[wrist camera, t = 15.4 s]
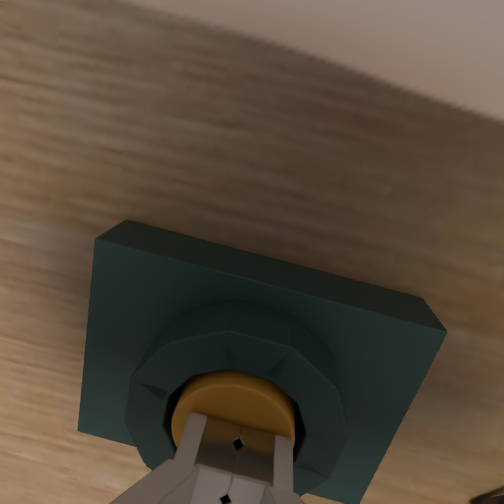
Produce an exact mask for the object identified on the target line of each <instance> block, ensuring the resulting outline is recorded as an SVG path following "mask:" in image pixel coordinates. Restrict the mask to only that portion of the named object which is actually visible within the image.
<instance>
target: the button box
mask: <svg viewBox="0 0 504 504" xmlns="http://www.w3.org/2000/svg"><path fill="white" fill-rule="evenodd" d="M446 334H447V330H446V329H445V328H444V326H443V325H442V324H441V322H440V321H439V319H438V318H437V317H436V315H435V314H434V313H433V311H432V310H431V309H430V307H429V306H428V305H427V303H426V302H425V301H424V299H422V298H419V297H415V296H411V295H407V294H404V293H400V292H396V291H392V290H388V289H385V288H381V287H377V286H373V285H370V284H366V283H362V282H358V281H354V280H351V279H347V278H343V277H339V276H336V275H332V274H328V273H324V272H320V271H317V270H313V269H309V268H305V267H302V266H298V265H294V264H290V263H286V262H283V261H279V260H275V259H271V258H268V257H264V256H260V255H256V254H253V253H249V252H245V251H241V250H237V249H234V248H230V247H226V246H222V245H219V244H215V243H211V242H207V241H203V240H200V239H196V238H192V237H188V236H185V235H181V234H177V233H173V232H169V231H166V230H162V229H158V228H154V227H151V226H147V225H143V224H139V223H135V222H132V221H128V220H125V221H123V222H121V223H120V224H118V225H116V226H115V227H113V228H112V229H110V230H108V231H107V232H105V233H103V234H102V235H100V236H98V237H97V238H96V239H95V248H94V259H93V269H92V280H91V291H90V302H89V313H88V324H87V335H86V345H85V356H84V367H83V378H82V389H81V400H80V411H79V422H78V431H79V432H83V433H87V434H90V435H94V436H98V437H101V438H105V439H109V440H113V441H116V442H120V443H124V444H127V445H131V446H135V447H137V449H138V452H139V454H140V456H141V458H142V460H143V462H144V463H145V464H146V466H147V467H149V468H150V469H151V470H154V469H155V468H157V467H158V466H159V465H161V464H162V463H163V462H164V461H166V460H167V459H172V460H174V457H175V454H176V451H177V446H176V444H175V442H174V439H173V435H172V426H171V423H172V417H173V414H174V411H175V408H176V406H177V403H178V401H179V398H180V396H181V393H182V391H183V388H184V386H185V383H186V381H187V380H188V379H189V378H190V377H191V376H193V375H197V374H203V373H208V372H213V371H219V370H224V369H233V370H236V371H240V372H244V373H248V374H251V375H255V376H259V377H263V378H266V379H270V380H271V381H272V382H274V383H275V384H276V385H277V386H278V387H279V388H280V389H282V390H283V391H284V392H285V393H286V394H287V395H289V396H290V397H291V398H292V399H293V400H294V408H295V442H294V447H293V492H294V493H297V494H299V496H300V497H301V496H302V495H304V494H306V493H308V494H312V495H316V496H320V497H323V498H327V499H331V500H334V501H338V502H342V503H345V504H359V503H360V501H361V499H362V497H363V495H364V493H365V492H366V490H367V488H368V486H369V484H370V482H371V480H372V478H373V476H374V474H375V472H376V470H377V468H378V466H379V464H380V462H381V460H382V459H383V457H384V455H385V453H386V451H387V449H388V447H389V445H390V443H391V441H392V439H393V437H394V435H395V433H396V431H397V429H398V427H399V426H400V424H401V422H402V420H403V418H404V416H405V414H406V412H407V410H408V408H409V406H410V404H411V402H412V400H413V398H414V396H415V394H416V393H417V391H418V389H419V387H420V385H421V383H422V381H423V379H424V377H425V375H426V373H427V371H428V369H429V367H430V365H431V363H432V361H433V360H434V358H435V356H436V354H437V352H438V350H439V348H440V346H441V344H442V342H443V340H444V338H445V336H446Z"/></svg>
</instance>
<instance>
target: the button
mask: <svg viewBox="0 0 504 504" xmlns="http://www.w3.org/2000/svg"><path fill="white" fill-rule="evenodd" d="M191 411H193V412H196V413H200V414H203V415H206V416H211V417H214V418H218V419H221V420H224V421H228V422H231V423H234V424H238V425H242V426H246V427H250V428H254V429H258V430H262V431H266V432H270V433H273V434H277V435H281V436H285V437H289V438H291V439H292V441H293V447H294V442H295V408H294V400H293V399H292V398H291V397H290V396H289V395H287V394H286V393H285V392H284V391H283V390H282V389H280V388H279V387H278V386H277V385H276V384H275V383H274V382H272V381H271V380H270V379H266V378H263V377H259V376H255V375H251V374H248V373H244V372H240V371H236V370H233V369H224V370H219V371H213V372H208V373H203V374H197V375H193V376H191V377H190V378H189V379H188V380H187V381H186V383H185V386H184V388H183V391H182V393H181V396H180V398H179V401H178V403H177V406H176V408H175V411H174V414H173V417H172V423H171V426H172V435H173V439H174V442H175V444H176V446H177V448H178V445H179V443H180V440H181V437H182V434H183V431H184V428H185V425H186V422H187V420H188V417H189V414H190V413H191ZM207 419H208V418H207Z"/></svg>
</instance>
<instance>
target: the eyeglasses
mask: <svg viewBox="0 0 504 504" xmlns="http://www.w3.org/2000/svg"><path fill="white" fill-rule="evenodd" d="M472 504H504V495H500V496H494V497H490V498H485V499H481V500H477V501H474V502H473V503H472Z"/></svg>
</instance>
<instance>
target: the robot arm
mask: <svg viewBox="0 0 504 504" xmlns="http://www.w3.org/2000/svg"><path fill="white" fill-rule="evenodd" d="M207 418H208V419H207ZM109 504H304V503H303V501H302V499H301V497H300V496H299V494H297V493H294V492H293V441H292V439H291V438H289V437H285V436H281V435H277V434H273V433H270V432H266V431H262V430H258V429H254V428H250V427H246V426H242V425H238V424H234V423H231V422H228V421H224V420H221V419H218V418H214V417H211V416H206V415H203V414H200V413H196V412H193V411H191V413H190V414H189V417H188V420H187V422H186V425H185V428H184V431H183V434H182V437H181V440H180V443H179V445H178V448H177V451H176V454H175V457H174V460H172V459H167V460H166V461H164V462H163V463H162V464H161V465H159V466H158V467H157V468H155V469H154V470H153V471H151V472H150V473H149V474H147V475H146V476H145V477H143V478H142V479H141V480H140V481H138V482H137V483H136V484H134V485H133V486H132V487H130V488H129V489H128V490H126V491H125V492H124V493H123V494H121V495H120V496H119V497H117V498H116V499H115V500H113V501H112V502H111V503H109Z"/></svg>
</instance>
